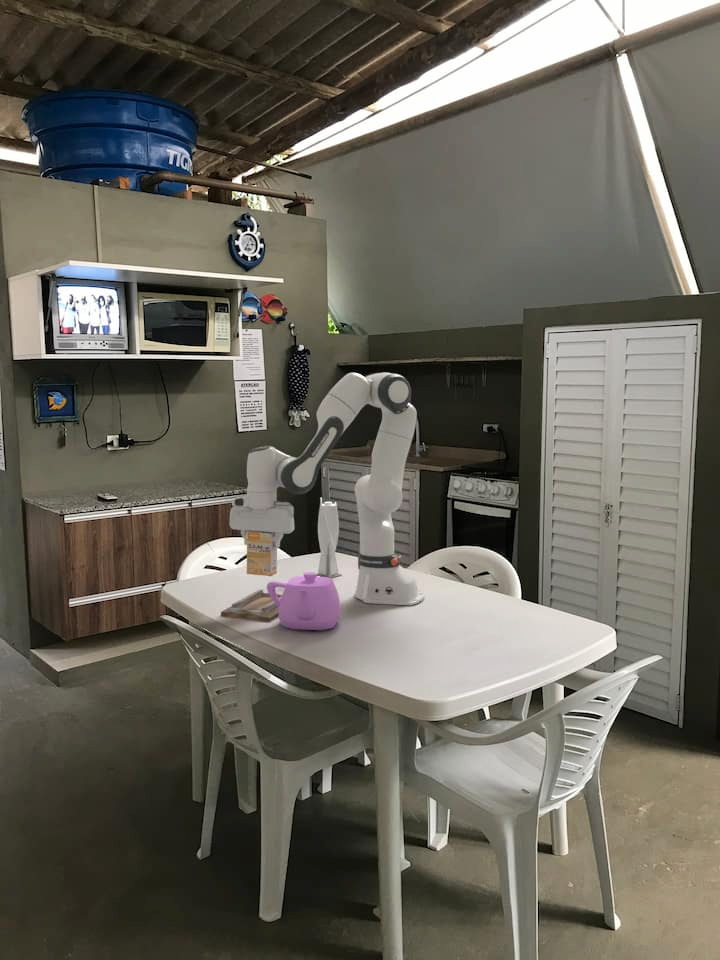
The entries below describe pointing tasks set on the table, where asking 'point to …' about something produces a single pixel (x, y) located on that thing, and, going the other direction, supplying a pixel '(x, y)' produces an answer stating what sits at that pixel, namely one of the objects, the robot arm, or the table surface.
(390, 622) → the table surface
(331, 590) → the teapot
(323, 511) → the skyscraper
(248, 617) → the rail board
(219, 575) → the table surface
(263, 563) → the supplement box
